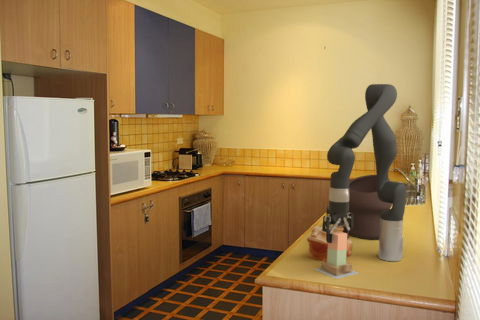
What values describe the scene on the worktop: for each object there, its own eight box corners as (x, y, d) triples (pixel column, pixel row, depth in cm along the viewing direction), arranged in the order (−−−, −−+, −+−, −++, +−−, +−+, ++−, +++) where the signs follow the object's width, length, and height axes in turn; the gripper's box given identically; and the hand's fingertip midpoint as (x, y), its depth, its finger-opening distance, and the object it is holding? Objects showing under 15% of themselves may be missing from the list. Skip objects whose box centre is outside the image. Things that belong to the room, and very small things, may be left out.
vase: (340, 226, 252) (342, 172, 249) (392, 230, 244) (395, 175, 241) (335, 238, 227) (337, 178, 224) (392, 244, 219) (396, 182, 215)
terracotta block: (337, 245, 179) (337, 230, 179) (346, 249, 175) (347, 233, 175) (327, 247, 177) (328, 232, 176) (337, 251, 172) (337, 235, 172)
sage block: (345, 264, 176) (346, 249, 175) (336, 266, 173) (337, 251, 172) (336, 260, 180) (336, 245, 179) (327, 262, 177) (327, 247, 176)
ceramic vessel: (297, 261, 192) (298, 225, 191) (332, 248, 211) (333, 216, 209) (324, 269, 182) (326, 232, 181) (359, 255, 201) (360, 221, 199)
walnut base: (336, 266, 182) (336, 259, 182) (351, 272, 176) (351, 264, 175) (321, 269, 178) (321, 262, 178) (336, 276, 171) (336, 268, 171)
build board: (336, 266, 185) (336, 264, 185) (358, 276, 175) (359, 272, 175) (313, 272, 179) (314, 269, 178) (336, 282, 169) (336, 278, 168)
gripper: (332, 202, 167) (331, 246, 168) (359, 199, 175) (357, 240, 176) (318, 199, 173) (316, 241, 175) (345, 196, 181) (343, 236, 183)
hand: (337, 241), depth 176 cm, fingers open, 8 cm apart
